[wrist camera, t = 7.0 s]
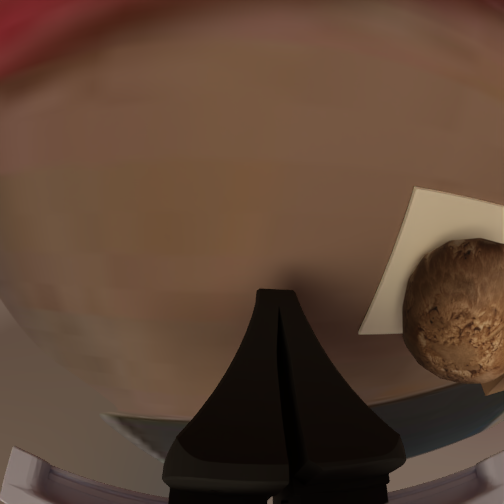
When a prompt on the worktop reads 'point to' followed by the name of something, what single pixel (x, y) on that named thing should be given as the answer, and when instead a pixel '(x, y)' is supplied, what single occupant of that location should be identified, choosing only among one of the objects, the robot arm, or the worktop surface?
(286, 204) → the worktop surface
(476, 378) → the mushroom
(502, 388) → the plinth
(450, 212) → the board
